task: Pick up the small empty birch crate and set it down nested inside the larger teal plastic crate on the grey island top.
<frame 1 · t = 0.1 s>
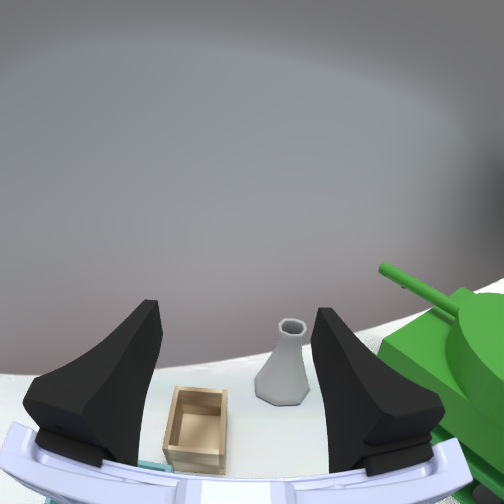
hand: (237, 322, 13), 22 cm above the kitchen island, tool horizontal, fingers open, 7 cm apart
tank: (446, 406, 31), on the kitchen island
birch crate: (200, 442, 27), on the kitchen island
flask: (281, 387, 36), on the kitchen island
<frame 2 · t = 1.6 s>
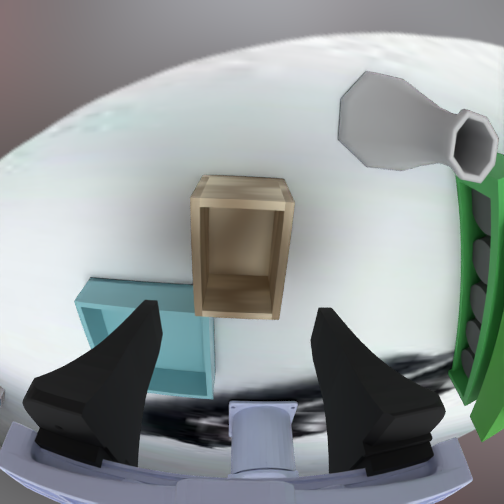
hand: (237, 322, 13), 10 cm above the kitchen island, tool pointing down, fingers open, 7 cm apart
birch crate: (240, 230, 22), on the kitchen island
teal crate: (155, 330, 27), on the kitchen island
flask: (383, 121, 18), on the kitchen island
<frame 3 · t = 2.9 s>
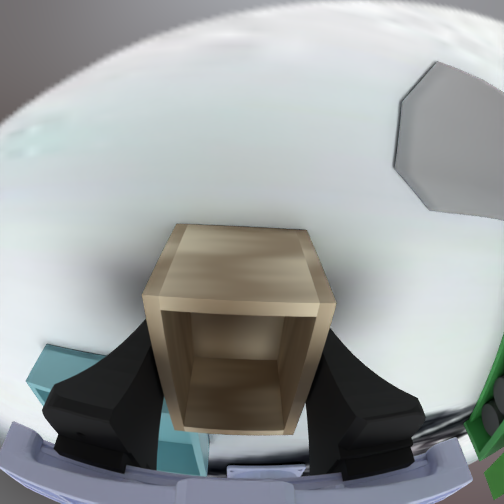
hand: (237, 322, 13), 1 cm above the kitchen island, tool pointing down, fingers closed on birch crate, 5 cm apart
birch crate: (237, 303, 14), on the kitchen island, touching gripper
teal crate: (133, 404, 19), on the kitchen island
flask: (454, 140, 11), on the kitchen island
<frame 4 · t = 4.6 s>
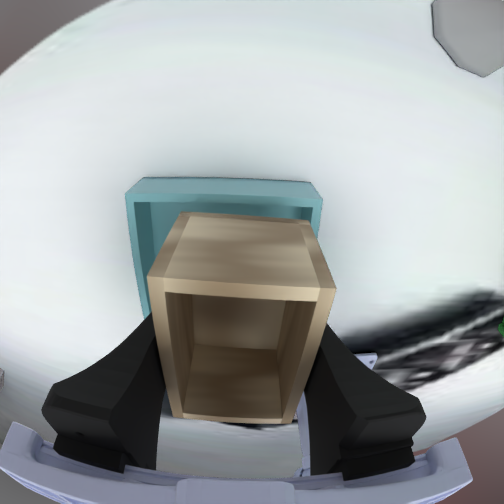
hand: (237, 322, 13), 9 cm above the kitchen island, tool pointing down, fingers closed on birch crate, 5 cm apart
birch crate: (239, 291, 15), point 7 cm above the kitchen island, touching gripper
teal crate: (224, 253, 22), on the kitchen island
flask: (464, 32, 13), on the kitchen island
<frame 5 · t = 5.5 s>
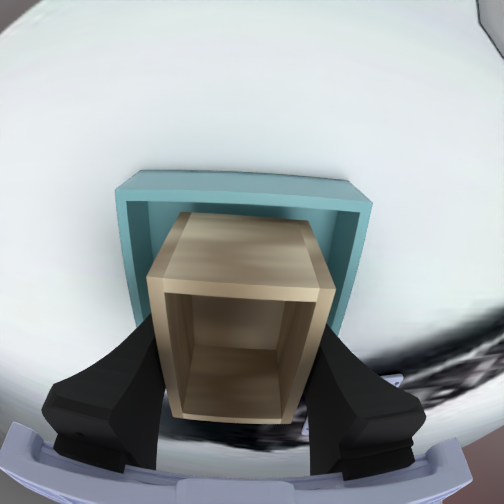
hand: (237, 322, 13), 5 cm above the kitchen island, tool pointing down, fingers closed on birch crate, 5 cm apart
birch crate: (238, 291, 15), point 3 cm above the kitchen island, touching gripper
teal crate: (239, 265, 18), on the kitchen island
when the fingers open (4 cm above the kitchen island, at t = 6.3 s): birch crate drops 1 cm, resting on teal crate.
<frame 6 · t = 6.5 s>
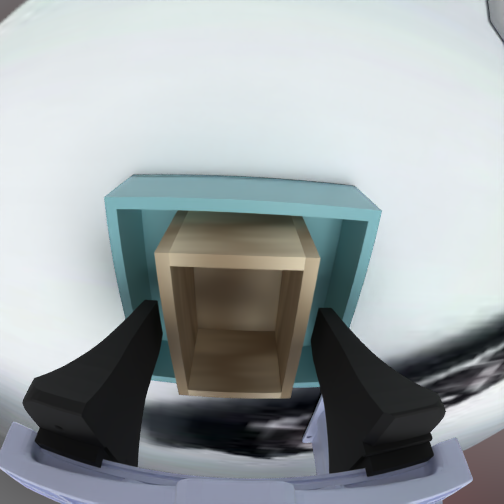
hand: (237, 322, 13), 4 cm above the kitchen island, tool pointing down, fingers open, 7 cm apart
birch crate: (237, 275, 16), resting on teal crate
teal crate: (238, 275, 17), on the kitchen island
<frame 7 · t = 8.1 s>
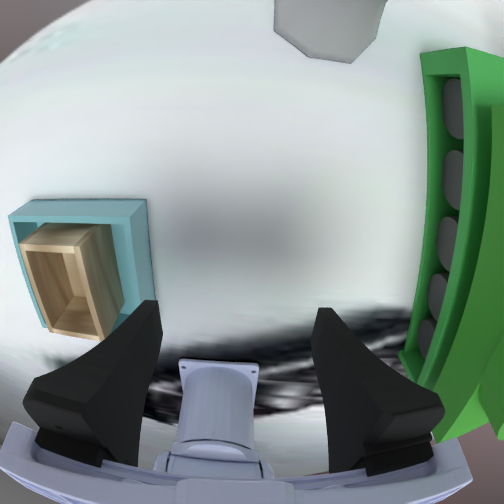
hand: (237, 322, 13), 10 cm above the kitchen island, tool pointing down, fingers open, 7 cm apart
birch crate: (88, 260, 22), resting on teal crate
teal crate: (92, 260, 23), on the kitchen island
flask: (325, 16, 15), on the kitchen island
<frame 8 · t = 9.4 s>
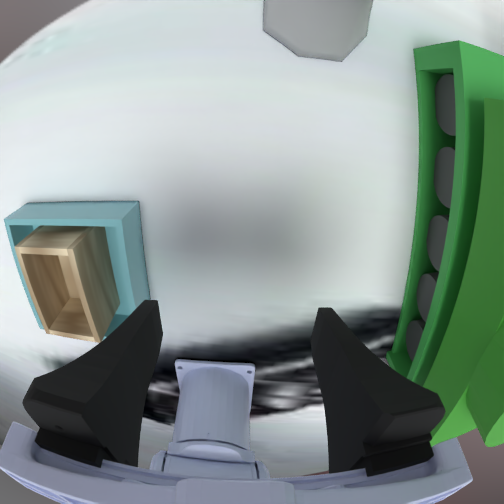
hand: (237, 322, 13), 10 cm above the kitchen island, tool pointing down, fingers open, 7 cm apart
birch crate: (83, 262, 22), resting on teal crate
teal crate: (87, 262, 23), on the kitchen island
flask: (315, 14, 15), on the kitchen island
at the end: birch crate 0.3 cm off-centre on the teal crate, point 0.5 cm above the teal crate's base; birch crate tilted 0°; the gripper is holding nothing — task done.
